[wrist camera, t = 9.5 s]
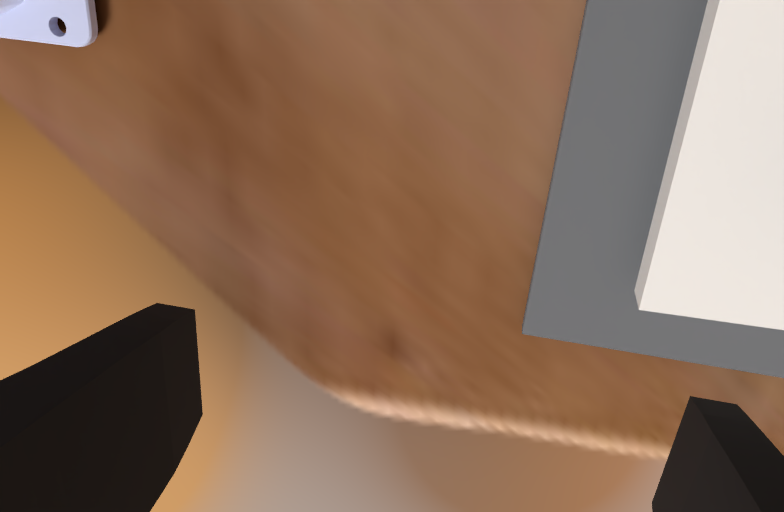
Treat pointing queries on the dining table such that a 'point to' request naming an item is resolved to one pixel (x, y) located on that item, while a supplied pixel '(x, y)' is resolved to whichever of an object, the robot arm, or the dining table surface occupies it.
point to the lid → (724, 177)
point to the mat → (625, 194)
